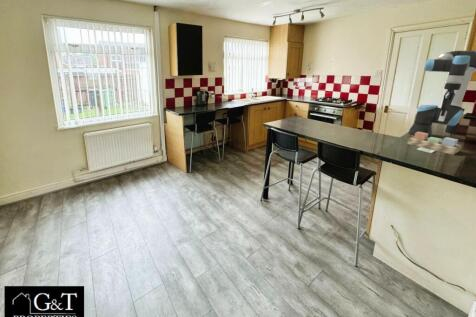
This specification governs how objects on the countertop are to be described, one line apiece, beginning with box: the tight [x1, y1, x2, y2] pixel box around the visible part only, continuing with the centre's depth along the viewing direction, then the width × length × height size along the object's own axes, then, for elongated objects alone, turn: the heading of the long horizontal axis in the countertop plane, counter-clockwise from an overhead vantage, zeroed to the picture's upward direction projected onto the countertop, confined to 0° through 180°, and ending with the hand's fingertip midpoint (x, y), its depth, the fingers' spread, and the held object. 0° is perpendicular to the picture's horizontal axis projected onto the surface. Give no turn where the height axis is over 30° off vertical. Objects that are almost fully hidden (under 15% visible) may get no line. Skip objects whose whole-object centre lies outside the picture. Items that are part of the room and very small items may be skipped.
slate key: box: [442, 136, 459, 147], centre depth 158 cm, size 6×6×5 cm
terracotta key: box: [413, 132, 429, 141], centre depth 170 cm, size 6×6×5 cm
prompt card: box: [416, 147, 435, 154], centre depth 159 cm, size 8×6×1 cm
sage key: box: [427, 136, 443, 144], centre depth 164 cm, size 6×6×5 cm
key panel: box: [406, 135, 462, 156], centre depth 165 cm, size 26×12×4 cm, turn 37°
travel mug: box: [444, 107, 466, 134], centre depth 203 cm, size 8×8×20 cm
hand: (440, 120), depth 159 cm, fingers closed
